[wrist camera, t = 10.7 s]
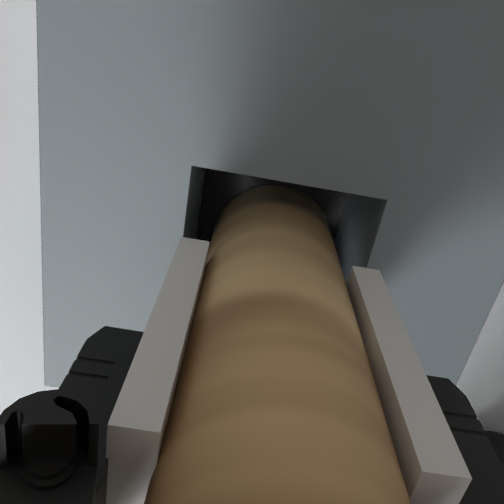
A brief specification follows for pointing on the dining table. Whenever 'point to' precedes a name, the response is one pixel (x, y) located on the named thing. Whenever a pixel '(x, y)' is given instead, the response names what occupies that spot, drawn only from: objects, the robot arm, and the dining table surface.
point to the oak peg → (275, 372)
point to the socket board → (272, 148)
